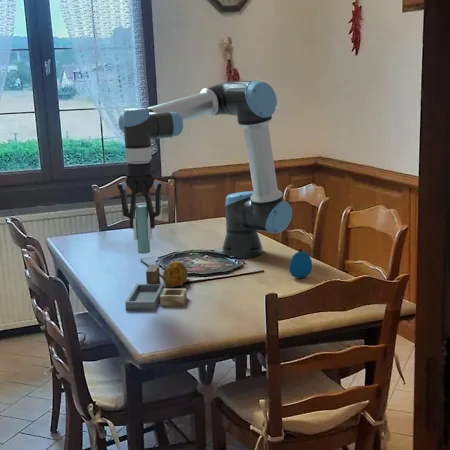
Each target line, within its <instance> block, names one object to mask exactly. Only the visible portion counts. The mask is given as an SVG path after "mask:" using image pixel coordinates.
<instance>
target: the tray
mask: <svg viewBox="0 0 450 450" xmlns="http://www.w3.org/2000/svg"><path fill="white" fill-rule="evenodd" d="M164 289H165V288H164V284H163V283H159V284H147V283H140V284H137V283H136V285H135V286H134V288H133V289H132V291H131V292H130V294H129V296H128V297H127V299H126V301H124V303H125V304H124V305H125V311H155V310H156V308H157V306H158V303H160V296H161V294H162V292H163V290H164Z"/></svg>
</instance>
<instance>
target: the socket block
mask: <svg viewBox="0 0 450 450" xmlns="http://www.w3.org/2000/svg"><path fill="white" fill-rule="evenodd" d="M187 294H188V293H187V288H164V290H163V292H162V294H161V296H160V300H159V303H160V307H165V306H166V307H168V306H169V307H173V306H174V307H177V306H178V307H179V306H180V307H181V306H182V307H183V306H185V303H186V302H187V297H188V295H187Z"/></svg>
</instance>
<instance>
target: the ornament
mask: <svg viewBox="0 0 450 450" xmlns="http://www.w3.org/2000/svg"><path fill="white" fill-rule="evenodd" d="M298 250H299V251H297V252H295V253H294V254H293V255H292V257H291V259H290V261H289V263H288V273H289V274H290V275H291V276H292V277H293V278H295V279H296V278H297V279H303V278H306V277H308V276H309V275H310V274H311V272H312V270H313V262H312V258H311V256H310V255H309V253H307V252H306V251H304V250H303V251H302V248H299V249H298Z"/></svg>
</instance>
